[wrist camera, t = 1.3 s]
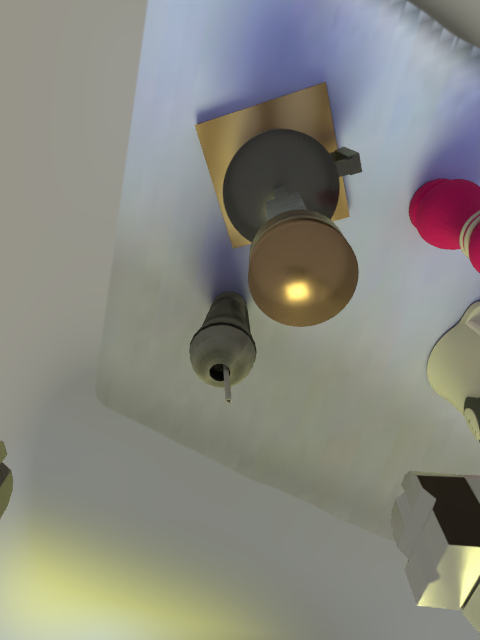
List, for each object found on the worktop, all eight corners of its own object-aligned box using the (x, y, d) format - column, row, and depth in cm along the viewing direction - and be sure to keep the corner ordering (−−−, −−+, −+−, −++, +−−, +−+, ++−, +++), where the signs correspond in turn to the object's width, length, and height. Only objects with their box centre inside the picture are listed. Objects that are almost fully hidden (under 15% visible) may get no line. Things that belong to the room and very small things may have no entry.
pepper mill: (441, 247, 50) (542, 321, 32) (391, 220, 49) (467, 282, 31) (482, 192, 47) (618, 241, 29) (430, 162, 46) (539, 193, 28)
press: (332, 104, 42) (398, 97, 22) (348, 196, 46) (416, 261, 26) (220, 140, 44) (188, 163, 24) (245, 226, 48) (235, 306, 28)
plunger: (311, 169, 26) (348, 209, 15) (325, 235, 28) (366, 312, 17) (244, 189, 27) (235, 241, 16) (262, 252, 29) (264, 336, 18)
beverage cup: (200, 282, 53) (171, 367, 36) (256, 281, 53) (255, 367, 35) (204, 331, 57) (178, 432, 39) (257, 331, 56) (256, 432, 39)
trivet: (323, 82, 43) (325, 81, 42) (347, 213, 49) (349, 216, 47) (196, 124, 45) (194, 125, 44) (233, 244, 51) (233, 248, 50)
